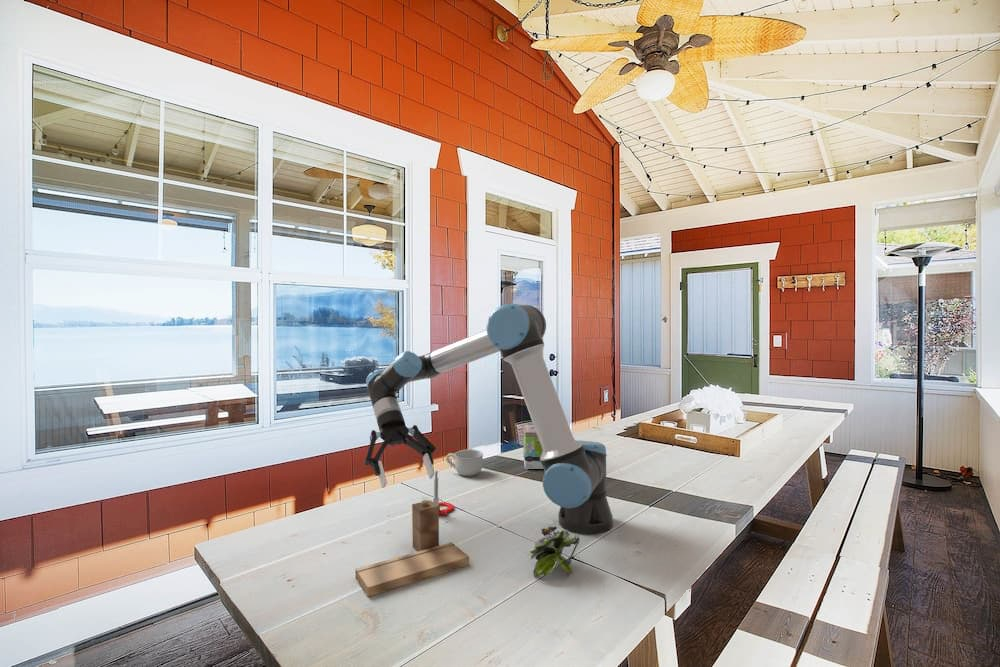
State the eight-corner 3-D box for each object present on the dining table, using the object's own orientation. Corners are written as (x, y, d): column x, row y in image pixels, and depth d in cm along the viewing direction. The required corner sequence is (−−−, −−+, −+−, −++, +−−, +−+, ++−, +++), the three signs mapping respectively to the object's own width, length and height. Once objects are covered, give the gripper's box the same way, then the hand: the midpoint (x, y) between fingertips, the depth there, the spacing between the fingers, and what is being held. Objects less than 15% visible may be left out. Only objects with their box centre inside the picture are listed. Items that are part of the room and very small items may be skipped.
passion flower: (549, 585, 114) (564, 534, 120) (582, 597, 106) (596, 541, 111) (514, 568, 110) (532, 516, 115) (546, 579, 101) (563, 522, 107)
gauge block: (430, 542, 126) (430, 496, 125) (439, 549, 121) (438, 502, 121) (412, 547, 123) (412, 500, 123) (420, 555, 119) (419, 506, 118)
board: (451, 550, 121) (451, 541, 121) (469, 564, 113) (469, 556, 113) (355, 577, 108) (355, 568, 108) (368, 596, 101) (367, 586, 100)
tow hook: (430, 505, 153) (421, 515, 144) (430, 463, 153) (421, 471, 144) (456, 506, 151) (448, 516, 142) (456, 465, 152) (449, 472, 143)
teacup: (487, 471, 186) (487, 450, 186) (476, 479, 176) (476, 457, 175) (454, 467, 190) (453, 447, 190) (442, 476, 180) (441, 454, 180)
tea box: (550, 470, 186) (550, 432, 186) (524, 470, 187) (524, 432, 186) (547, 459, 201) (547, 423, 201) (523, 459, 202) (522, 424, 201)
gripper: (424, 419, 152) (446, 479, 140) (344, 428, 139) (360, 496, 126) (431, 404, 147) (454, 465, 135) (348, 413, 134) (366, 481, 122)
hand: (409, 480), depth 131 cm, fingers open, 13 cm apart
